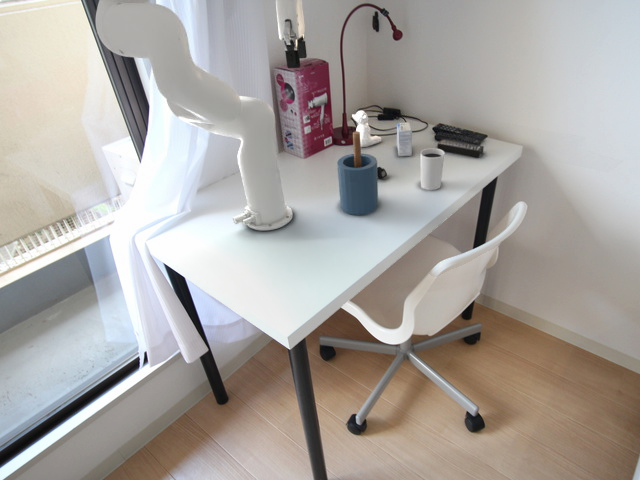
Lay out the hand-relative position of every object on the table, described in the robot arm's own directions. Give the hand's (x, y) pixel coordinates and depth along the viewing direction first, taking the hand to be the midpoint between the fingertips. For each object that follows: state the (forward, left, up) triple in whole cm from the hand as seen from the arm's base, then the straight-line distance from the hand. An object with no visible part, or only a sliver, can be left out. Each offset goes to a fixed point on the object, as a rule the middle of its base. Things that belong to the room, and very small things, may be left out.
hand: (297, 62), depth 110 cm
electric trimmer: (+15, -7, -33) cm, 37 cm away
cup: (+1, -20, -34) cm, 40 cm away
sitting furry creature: (+32, +10, -35) cm, 48 cm away
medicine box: (+36, -5, -35) cm, 50 cm away
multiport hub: (+48, -19, -35) cm, 62 cm away
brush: (+1, -20, -34) cm, 39 cm away
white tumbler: (+23, -27, -35) cm, 49 cm away
